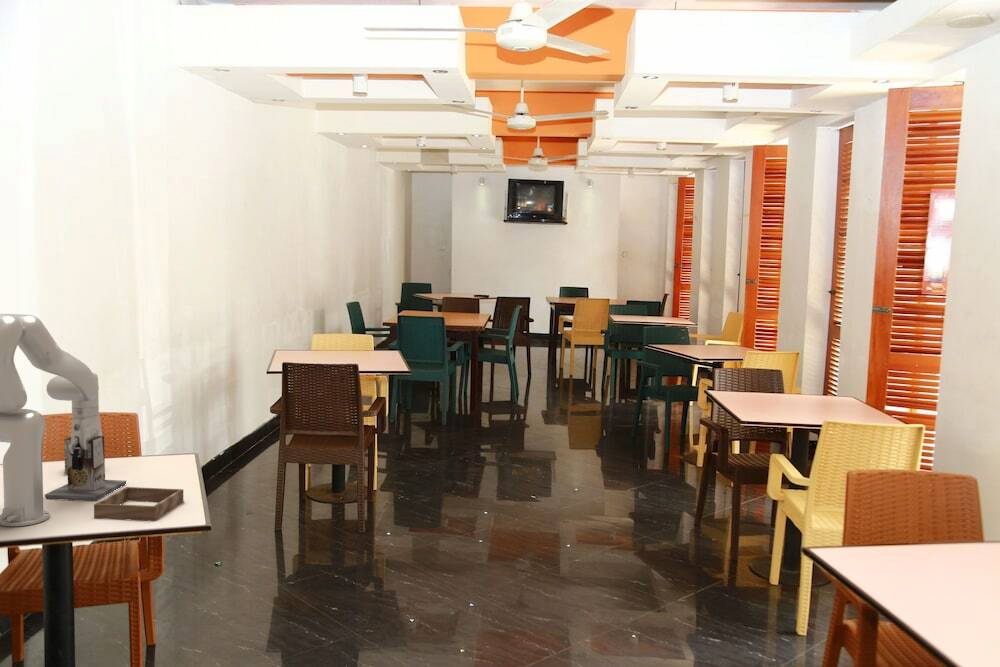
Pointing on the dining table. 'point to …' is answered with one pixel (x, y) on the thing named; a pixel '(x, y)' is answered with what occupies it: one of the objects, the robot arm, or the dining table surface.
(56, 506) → the dining table surface
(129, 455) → the dining table surface
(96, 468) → the coffee box
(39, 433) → the robot arm
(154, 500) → the wooden frame
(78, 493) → the serving board
